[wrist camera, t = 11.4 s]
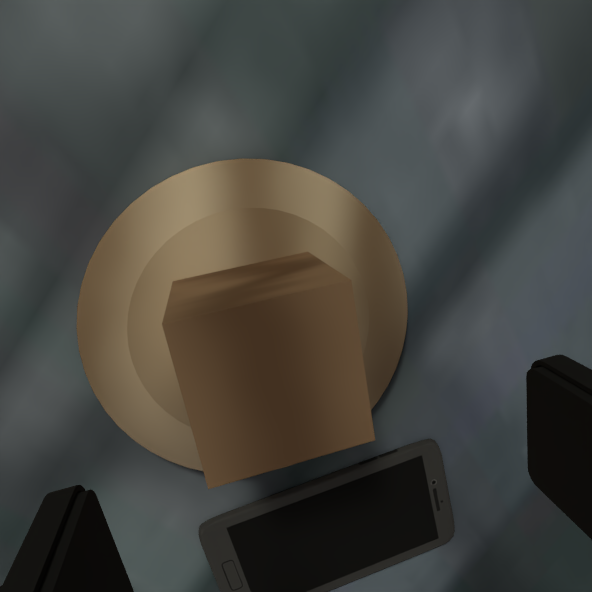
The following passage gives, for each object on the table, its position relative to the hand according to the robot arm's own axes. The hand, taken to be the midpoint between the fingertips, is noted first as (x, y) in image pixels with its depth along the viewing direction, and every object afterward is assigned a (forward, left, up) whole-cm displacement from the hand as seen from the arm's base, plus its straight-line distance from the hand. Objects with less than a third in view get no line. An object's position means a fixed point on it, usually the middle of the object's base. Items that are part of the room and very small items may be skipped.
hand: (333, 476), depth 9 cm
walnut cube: (0, +1, -12) cm, 12 cm away
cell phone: (-2, +14, -13) cm, 19 cm away
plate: (0, +1, -12) cm, 12 cm away
